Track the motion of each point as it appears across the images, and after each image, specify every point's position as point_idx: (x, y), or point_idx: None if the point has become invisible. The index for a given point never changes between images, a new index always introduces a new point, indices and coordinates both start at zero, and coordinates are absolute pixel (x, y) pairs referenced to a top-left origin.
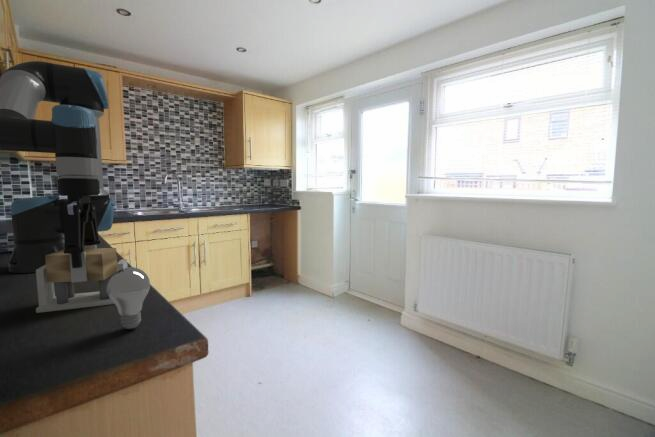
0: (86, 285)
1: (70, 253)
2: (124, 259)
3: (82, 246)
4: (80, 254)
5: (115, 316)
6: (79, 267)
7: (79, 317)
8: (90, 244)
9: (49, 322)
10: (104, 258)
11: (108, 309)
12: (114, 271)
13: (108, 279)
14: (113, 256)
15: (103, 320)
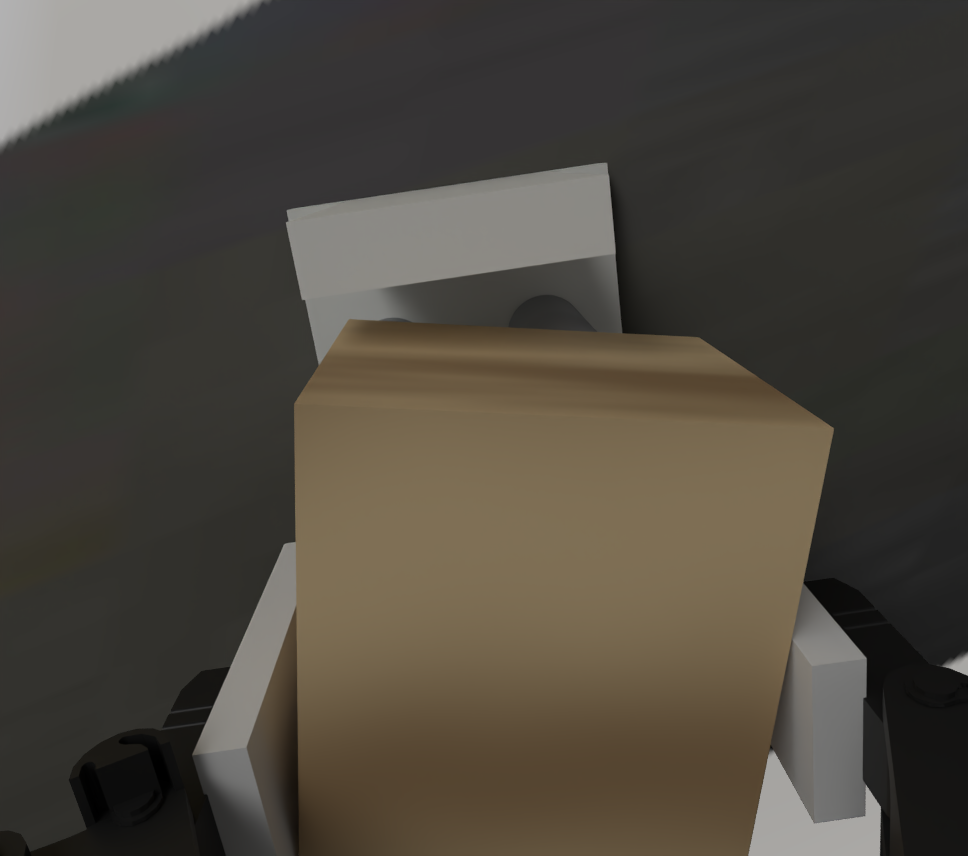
0: (37, 657)
1: (862, 800)
2: (322, 247)
3: (963, 730)
4: (879, 678)
5: (909, 121)
6: (839, 587)
7: (830, 382)
8: (213, 834)
9: (855, 527)
10: (732, 397)
11: (726, 237)
12: (429, 329)
13: (585, 327)
14: (432, 374)
15: (959, 185)
